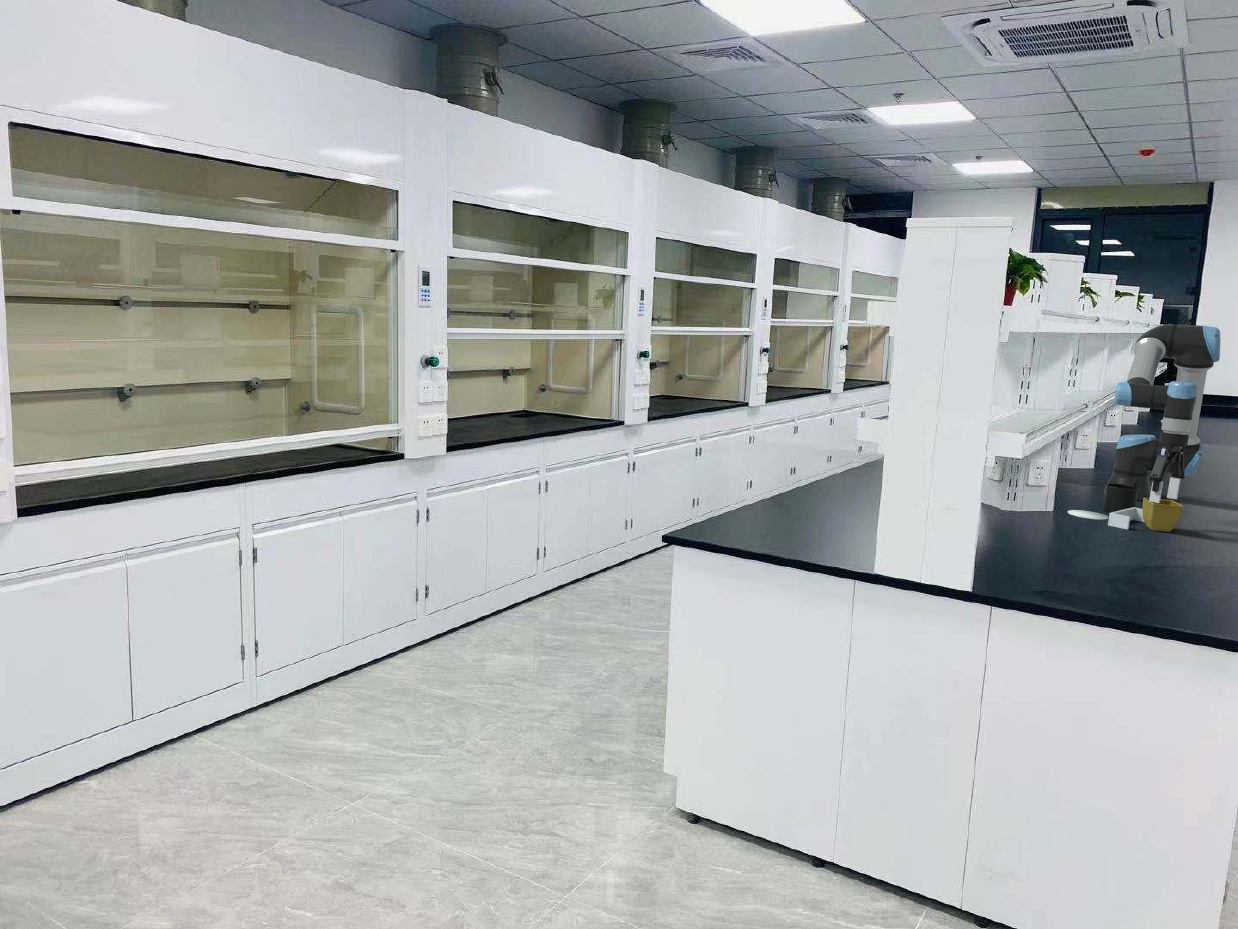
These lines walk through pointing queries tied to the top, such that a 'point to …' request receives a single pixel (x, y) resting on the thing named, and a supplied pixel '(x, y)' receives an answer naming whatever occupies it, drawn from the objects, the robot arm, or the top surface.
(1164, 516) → the flower pot
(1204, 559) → the top surface
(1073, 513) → the pad
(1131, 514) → the bracket
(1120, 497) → the mug
